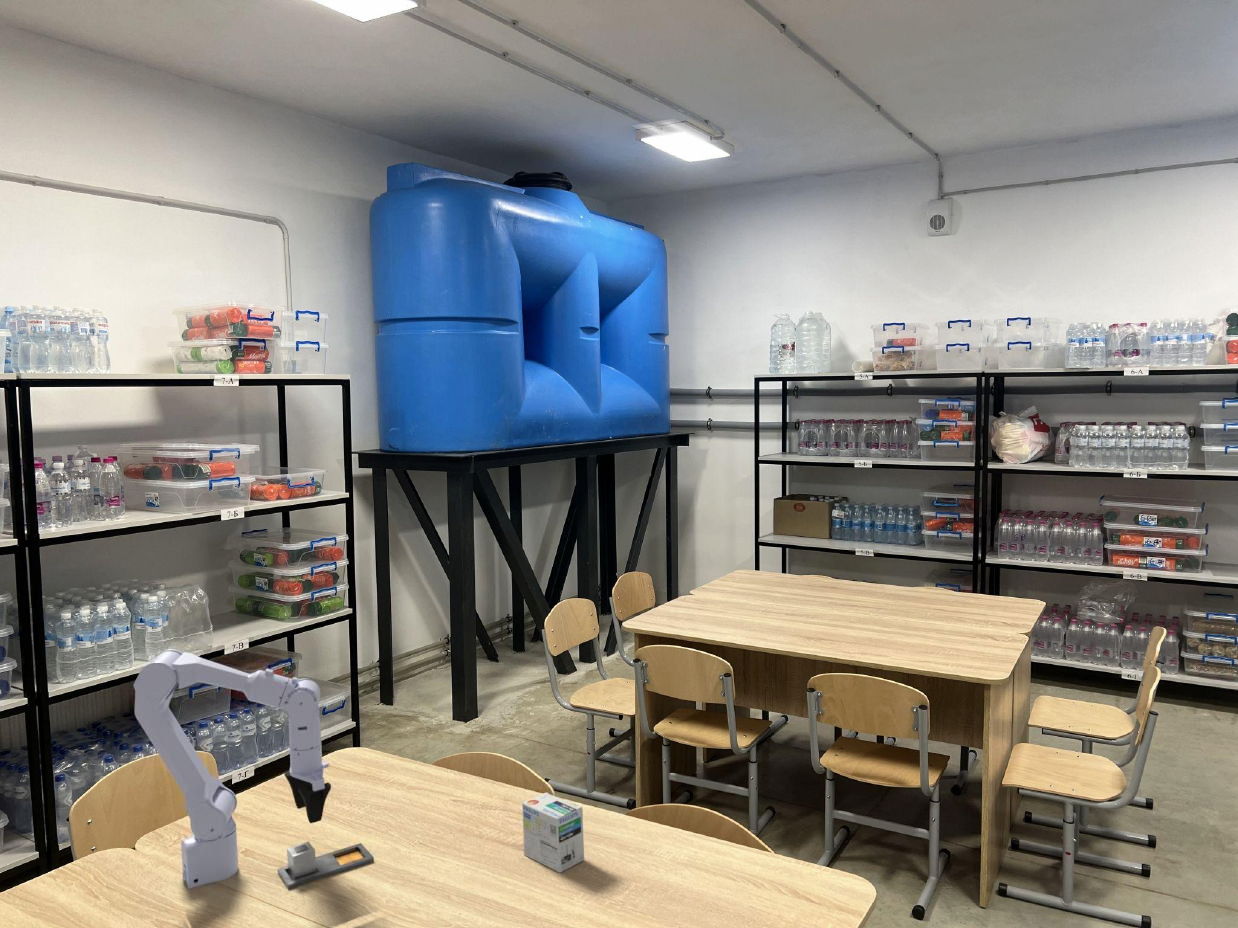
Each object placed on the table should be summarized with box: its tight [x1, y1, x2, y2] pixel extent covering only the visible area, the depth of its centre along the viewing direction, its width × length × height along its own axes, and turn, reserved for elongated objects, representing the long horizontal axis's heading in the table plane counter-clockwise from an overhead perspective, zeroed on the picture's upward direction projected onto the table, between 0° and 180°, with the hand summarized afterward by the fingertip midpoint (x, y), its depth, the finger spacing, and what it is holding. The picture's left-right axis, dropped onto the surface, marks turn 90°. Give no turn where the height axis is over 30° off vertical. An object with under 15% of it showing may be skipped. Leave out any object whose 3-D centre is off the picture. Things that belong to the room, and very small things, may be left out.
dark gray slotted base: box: [277, 842, 375, 890], centre depth 171 cm, size 16×7×2 cm, turn 126°
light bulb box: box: [521, 792, 585, 874], centre depth 174 cm, size 11×7×11 cm, turn 47°
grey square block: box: [286, 841, 316, 880], centre depth 168 cm, size 4×4×5 cm
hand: (308, 813), depth 172 cm, fingers open, 7 cm apart
